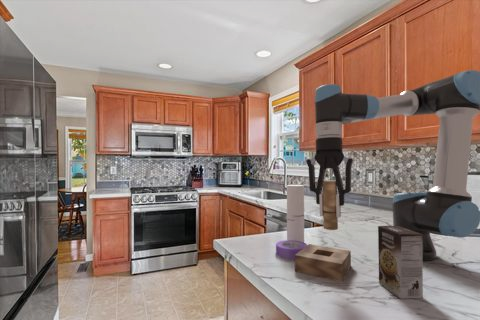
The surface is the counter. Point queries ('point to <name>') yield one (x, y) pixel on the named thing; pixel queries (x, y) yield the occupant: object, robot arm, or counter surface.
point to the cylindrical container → (295, 212)
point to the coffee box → (401, 261)
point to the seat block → (323, 262)
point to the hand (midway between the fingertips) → (330, 215)
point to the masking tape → (289, 248)
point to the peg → (329, 205)
